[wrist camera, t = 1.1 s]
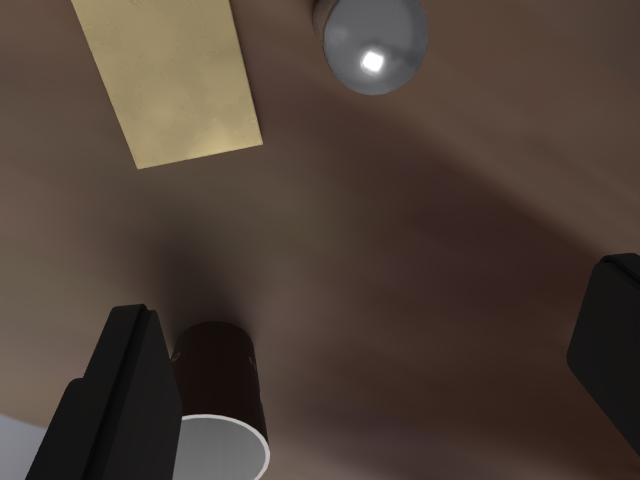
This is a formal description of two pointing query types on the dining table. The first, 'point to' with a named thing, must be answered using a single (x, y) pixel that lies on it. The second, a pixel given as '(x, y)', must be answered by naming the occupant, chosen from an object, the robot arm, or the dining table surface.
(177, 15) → the open box with flaps
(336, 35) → the silver flashlight
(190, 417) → the coffee mug
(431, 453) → the dining table surface
